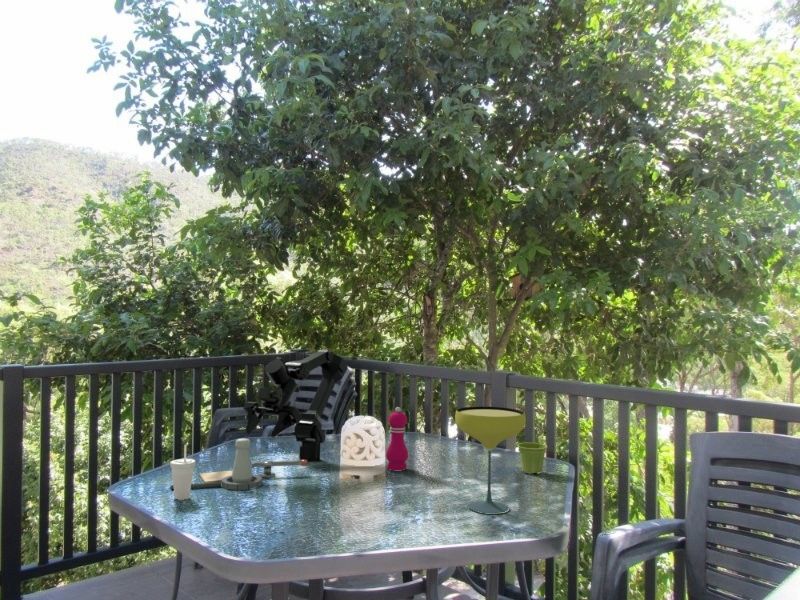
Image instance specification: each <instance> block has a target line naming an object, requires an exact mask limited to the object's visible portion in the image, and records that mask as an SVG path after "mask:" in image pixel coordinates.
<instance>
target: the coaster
mask: <svg viewBox="0 0 800 600" xmlns="http://www.w3.org/2000/svg"><path fill="white" fill-rule="evenodd" d="M232 472H233V469H232V470H223V471H222V470H221V471H212V472H200V473H198V476H199V478H200V479H201V480H202V482H204V483H217V482H221V483H222V479H223V478H225V477H227V476H231V475H232Z"/></svg>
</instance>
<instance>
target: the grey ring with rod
mask: <svg viewBox="0 0 800 600" xmlns="http://www.w3.org/2000/svg"><path fill="white" fill-rule="evenodd" d="M262 485H263V478H262V477H261V476H259V475H257V474H252V479H251V481H250V482H248V483H234V482H233V480H232V475H231V476H227V477H225V478H223V479H222V482H217V483H191V489H203V488H205V489H207V488H219V487H221V488H223V489H227V490H231V491H232V490H235V491H242V490H244V491H245V490H251V489H252V490H253V489H256V488H258V487H260V486H262ZM169 488H170V490H171V489H174V488H173V484H172V485H170V486H169Z"/></svg>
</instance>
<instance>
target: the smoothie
mask: <svg viewBox="0 0 800 600" xmlns="http://www.w3.org/2000/svg"><path fill="white" fill-rule="evenodd" d="M187 447H188V446H187V444H184V448H183V451H184V452H183V458H178V459H173V460H171V461H170V463H169V466H170V467H171V476H172V485H173V488H174V490H173V496H174V500H175V499H178V500H177V501H184V499H186V500H188V499H190V495H191V490H192V488H191V484H193V482H192V481H193V477H194V476H193V475H194V469H195V466H196V460H195V459H193V458H187Z"/></svg>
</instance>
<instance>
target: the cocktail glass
mask: <svg viewBox="0 0 800 600" xmlns="http://www.w3.org/2000/svg"><path fill="white" fill-rule="evenodd" d="M454 421H455V425H456V427H458V428H459V429H460V431H462V432H463V433H465V434H466V435H468V436H469V437H472V438H473V439H475V440H477V441H478V442H480V444H482V446H483V448H484V449H485V450H486V451H488V454H487V455H488V458H487V459H488V467H487V469H488V470H487V471H488V473H487V492H486V494H487V495H486V499H485V500H479V501H473V503H472V502H470V503H469V504H468V505H469V506H468V505H467V508H468V507H469V508H470V509H472V510H474V511H477V512H478V511H479V512H482V513H499V512H505V511H507V510H508V508H509V507H510V506H509V505H507V504H506V505H507V506H506V505H505V503H502V502H499V501H493V499H492V487H491V484H492V483H491V474H492V472H491V470H492V467H491V465H492V464H491V462H492V460H491V459H492V451H493V450H495V448H496V447H497V446H498V445H499V444H500V443H501V442H504V441H505V440H507V439H510V438H512V437H515V436H516V435H518V434H520V432H522V430H524V429H525V426H526V421H527V418H526V413H525V412H524V411H523V410H520V409H516V408H510V407H500V406H466V407H460V408H457V409H456V411H455V420H454ZM508 506H509V507H508ZM469 508H468V509H469ZM470 509H469V510H470Z"/></svg>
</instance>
